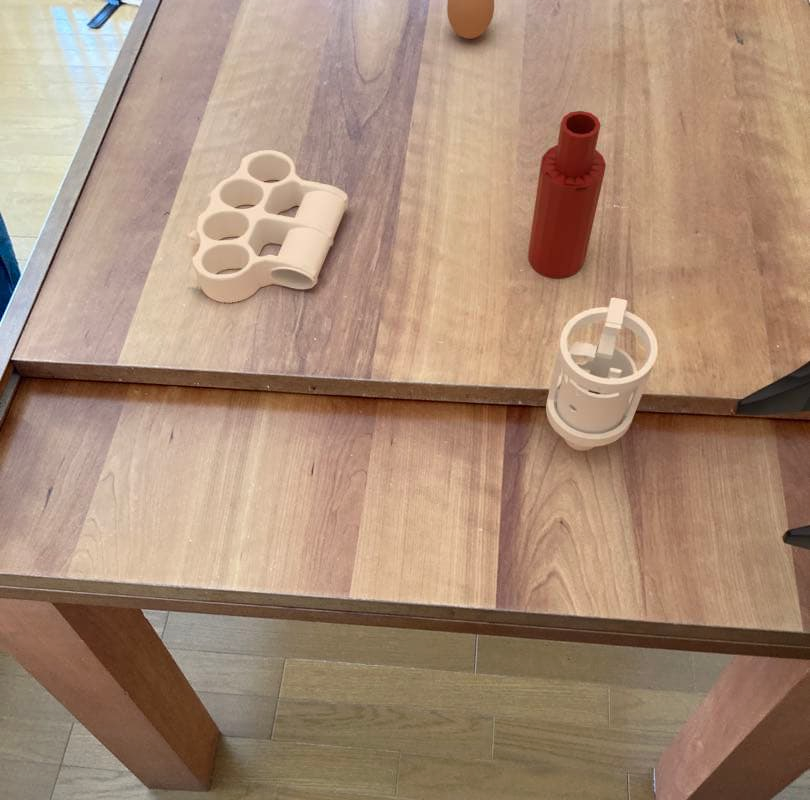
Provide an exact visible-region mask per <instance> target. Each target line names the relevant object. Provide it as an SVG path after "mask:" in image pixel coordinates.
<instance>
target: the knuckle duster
mask: <svg viewBox="0 0 810 800" xmlns="http://www.w3.org/2000/svg"><path fill="white" fill-rule="evenodd" d="M269 181H276V182H269ZM206 196H207V198H208V199H209V204H208V206H207V207H206V209H205V210H204V211H203V212H202V213H201V214H199V215H198V216H197V222H196V229H194V230H193V231H191V232H189V233H188V234H186V235H185V238H188V239H190V240H191V241H194V242H195V243H198V244H199V247H198V249H197V251H196V253H195V254H194V256H193V257H192V258H191V262H192V263H191V264H192V266H193V269H194V272H195V275H196V277H197V280H198V283H199V285H200V289H201V290H202V292H203V293H204V294H205V295H206V297H208V298H210V299H211V300H213V301H216V302H219V303H224V302H225V304H231V303H232V302H233V303H238V301H239V302H241V301H244V300H246V299H249V298H250V297H252V296H253V295H254V294H256V293H257V292H258V290H260V289H261V288H263V287H267V286H270V285H275V286H280V287H286V288H290V289H294V290H309V289H312V288H313V287H314V286H316V285H317V283H318V281H319V280H318V277H319V274H320V272H321V270H322V268H323V265H324V262H325V260H326V257H327V256H328V253H329V250H330V247H333V245H334V238H335V236H336V234H337V231H338V229H339V227H340V224H341V221H342V219H343V217H344V214H345V211H347V210H348V208H349V202H350V198H349V196H348V194H347V193H346V192H345V191H343V190H342V189H341V188H338V187H336V186H334V185H331V184H327V183H321V182H317V181H312V180H305V179H302V178H301V177H300V176H299V175H298V172H297V168H296V164H295V163H294V160H292V159H291V157H289V156H288V155H287V154H285V153H284V152H281V151H277V150H273V149H264V150H257V151H253V152H252V153H249V154H247V155H245V156H244V157H243V158H242V159H241V163H240V166H239V168H238V169H237V171H235V173H233V174H232V175H231V176H229V177H227V178H225V179H222V180H221V181H220V182H219V183H218V184H217V185H216V186H215V187H214V188H213V189H212V191H210V193H207V194H206ZM246 205H248V206H249V205H250V206H251V207H249V208H237V207H241V206H246ZM293 207H298V209H297V211H296V213H295V215H294V217H292V216H287V215H282V214H280V213H282V212H286V211H288V210H290V209H292V208H293ZM232 237H233V238H234V237H237V238H234V239H233V238H232ZM225 238H232V239H225ZM269 244H275V245H280V246H281V247H280V249H279V252H278V254H277V255H274V254H266V255H263V256H260V254H261V251H262V250H263V248H264V247H265V246H266V245H269ZM233 269H240V270H238V271H237V272H233V273H224V274H223V273H221V272H223V271H226V270H233ZM219 273H221V274H219Z"/></svg>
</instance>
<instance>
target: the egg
mask: <svg viewBox="0 0 810 800" xmlns="http://www.w3.org/2000/svg"><path fill="white" fill-rule="evenodd" d="M446 7H447V9H446V10H447V11H446V13H447V19H448V22H449V24H450V26H451V28H452V29H453V31H454V32H455V33H456V34H457V35H459V36H460V37H461V38H464V39H470V40H471V39H476V38H478V37H479V36H481V35H482V34H483V33H485V32H486V31H487V29H488V28H489V26H490V24H491V23H492V20H493V18H494V13H495V0H447V5H446Z"/></svg>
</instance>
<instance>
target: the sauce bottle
mask: <svg viewBox="0 0 810 800" xmlns="http://www.w3.org/2000/svg"><path fill="white" fill-rule="evenodd" d="M561 119H562V120H561V122H560V127H559V132H558V139H557V144H556V145H554V146H552V147H550V148H548V149H547V151H546V152H545V153H544V154H543V155H542V157H541V161H540V167H539V175H538V182H537V188H536V195H535V201H534V210H533V215H532V216H533V217H532V222H531V223H532V225H531V231H530V238H529V245H528V255H527V257H528V263H529V265H530V267H532V268H533V270H534V269H535V270H534V271H535V272H536V273H538V274H540V275H541V274H542V275H541V276H544V277H546V276H547V277H546V278H550V277H551V278H550V279H565V278H568V277H567V276H569V277H571V275H572V276H574V275H575V274H577V273H578V272H579V271H580V270H581V269H582V268H583V266H584V264H585V261H586V257H587V252H588V248H589V243H590V239H591V234H592V229H593V225H594V222H595V217H596V213H597V208H598V203H599V199H600V195H601V191H602V185H603V182H604V177H605V172H606V167H607V165H606V162H605V161H606V160H605V158H604V156H603V155H602V154H601V153H600V152H599V151H598V150H597V149H596V148H597V145H598V140H599V136H600V130H601V126H602V125H601V122H600V120H599V117H597V116H596V115H594V114H593V113H592V112H588V111H584V110H577V111H571V112H569V113H567V114H566V115H564V116H563V117H562V118H561ZM581 267H582V268H581ZM577 271H578V272H577ZM576 272H577V273H576ZM573 274H574V275H573ZM564 277H565V278H564Z"/></svg>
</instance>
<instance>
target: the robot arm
mask: <svg viewBox="0 0 810 800" xmlns="http://www.w3.org/2000/svg"><path fill="white" fill-rule="evenodd" d="M733 411H734V415H736V416H751V417H752V416H753V417H754V416H755V417H756V416H758V417H759V416H769V415H781V414H793V413H807V412H810V360H809V361H807V362H806V363H804V364H803V365H801V366H800V367H798V368H797V369H795V370H793V371H792V372H790V373H788V374H786V375H784V376H782V377H780V378H778V379H776V380H774V381H773V382H771V383H768V384H767V385H765V386H764V387H762V388H759V389H758V390H756V391H754V392H752V393H751V394H749V395H746V396H745V397H743V398H740V399H739V400H738V401H737V402H736V404H735V406H734V408H733ZM781 539H782V542H783V543H784V544H786V545H789V546H793V547H797V548H801V549H805V550H808V551H810V524H808V525H804V526H799V527H795V528H791V529H788V530H786V531H785V532H784V533H783V535H781Z"/></svg>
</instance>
